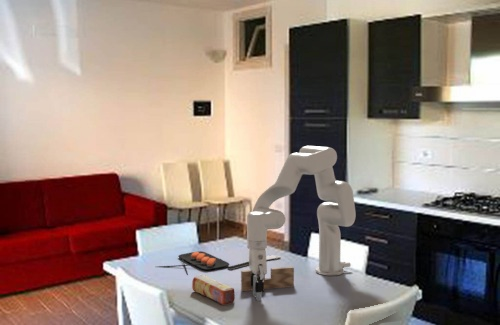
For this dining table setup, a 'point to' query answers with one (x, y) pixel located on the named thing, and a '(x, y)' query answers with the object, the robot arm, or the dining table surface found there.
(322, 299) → the dining table surface
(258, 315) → the dining table surface
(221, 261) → the sushi plate
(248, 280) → the wooden board
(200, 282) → the snack package
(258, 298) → the notched grey block
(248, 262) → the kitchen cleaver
